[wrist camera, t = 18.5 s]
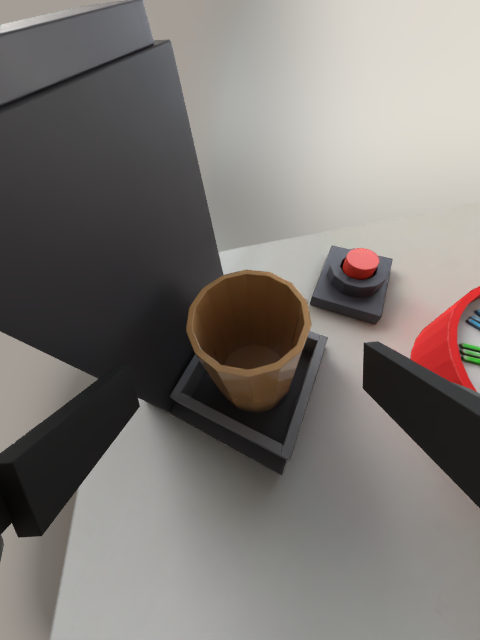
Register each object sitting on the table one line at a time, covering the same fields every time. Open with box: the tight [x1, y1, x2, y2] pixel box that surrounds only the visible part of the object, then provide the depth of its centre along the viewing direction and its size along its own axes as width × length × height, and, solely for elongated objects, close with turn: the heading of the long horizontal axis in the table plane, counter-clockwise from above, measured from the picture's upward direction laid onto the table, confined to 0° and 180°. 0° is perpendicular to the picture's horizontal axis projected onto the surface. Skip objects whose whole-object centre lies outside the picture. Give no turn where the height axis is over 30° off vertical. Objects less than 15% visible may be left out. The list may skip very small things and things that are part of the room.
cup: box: [186, 270, 311, 413], centre depth 19 cm, size 8×8×12 cm
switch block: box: [310, 246, 392, 324], centre depth 29 cm, size 10×8×4 cm
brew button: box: [343, 248, 379, 280], centre depth 27 cm, size 4×4×2 cm
